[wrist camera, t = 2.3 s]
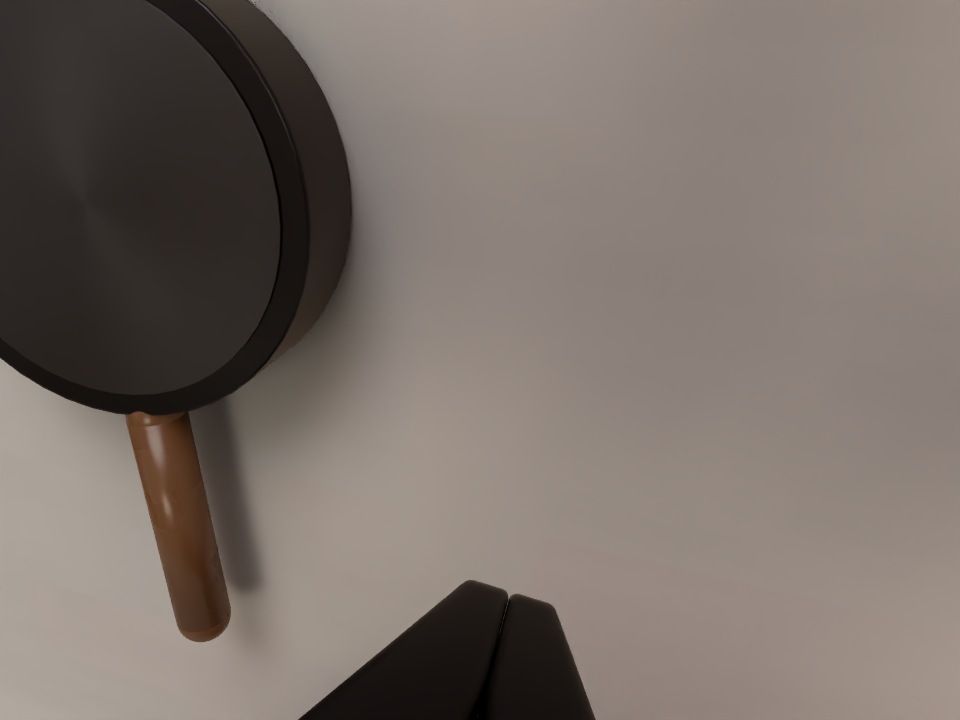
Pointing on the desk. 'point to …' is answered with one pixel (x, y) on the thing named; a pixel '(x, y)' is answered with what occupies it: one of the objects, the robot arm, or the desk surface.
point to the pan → (163, 230)
